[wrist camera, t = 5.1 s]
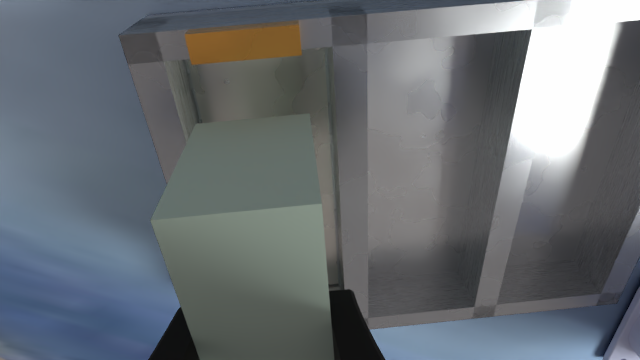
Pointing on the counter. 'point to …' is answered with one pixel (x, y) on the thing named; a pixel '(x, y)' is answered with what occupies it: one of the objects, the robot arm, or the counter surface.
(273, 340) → the pale green rectangular box
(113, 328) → the counter surface
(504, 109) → the rack
